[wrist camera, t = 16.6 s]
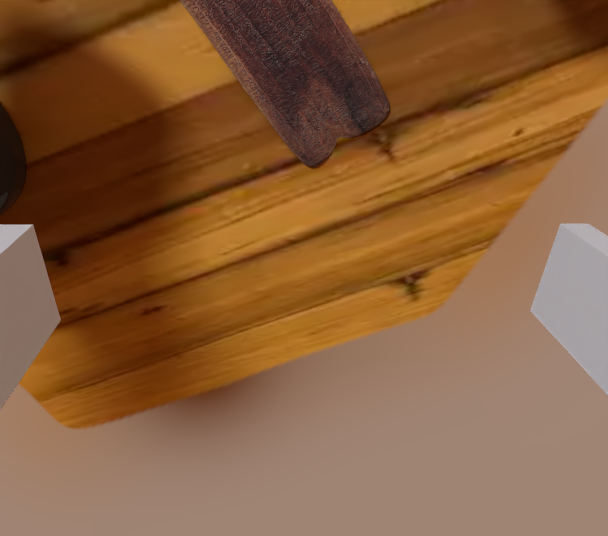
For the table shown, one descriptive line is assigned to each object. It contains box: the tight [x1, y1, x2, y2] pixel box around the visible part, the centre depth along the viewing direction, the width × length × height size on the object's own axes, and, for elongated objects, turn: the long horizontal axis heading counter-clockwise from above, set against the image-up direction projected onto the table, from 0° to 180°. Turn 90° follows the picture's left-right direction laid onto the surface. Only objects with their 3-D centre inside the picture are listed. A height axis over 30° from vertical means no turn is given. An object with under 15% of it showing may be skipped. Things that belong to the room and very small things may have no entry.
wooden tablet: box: [180, 0, 389, 167], centre depth 36 cm, size 26×2×10 cm
